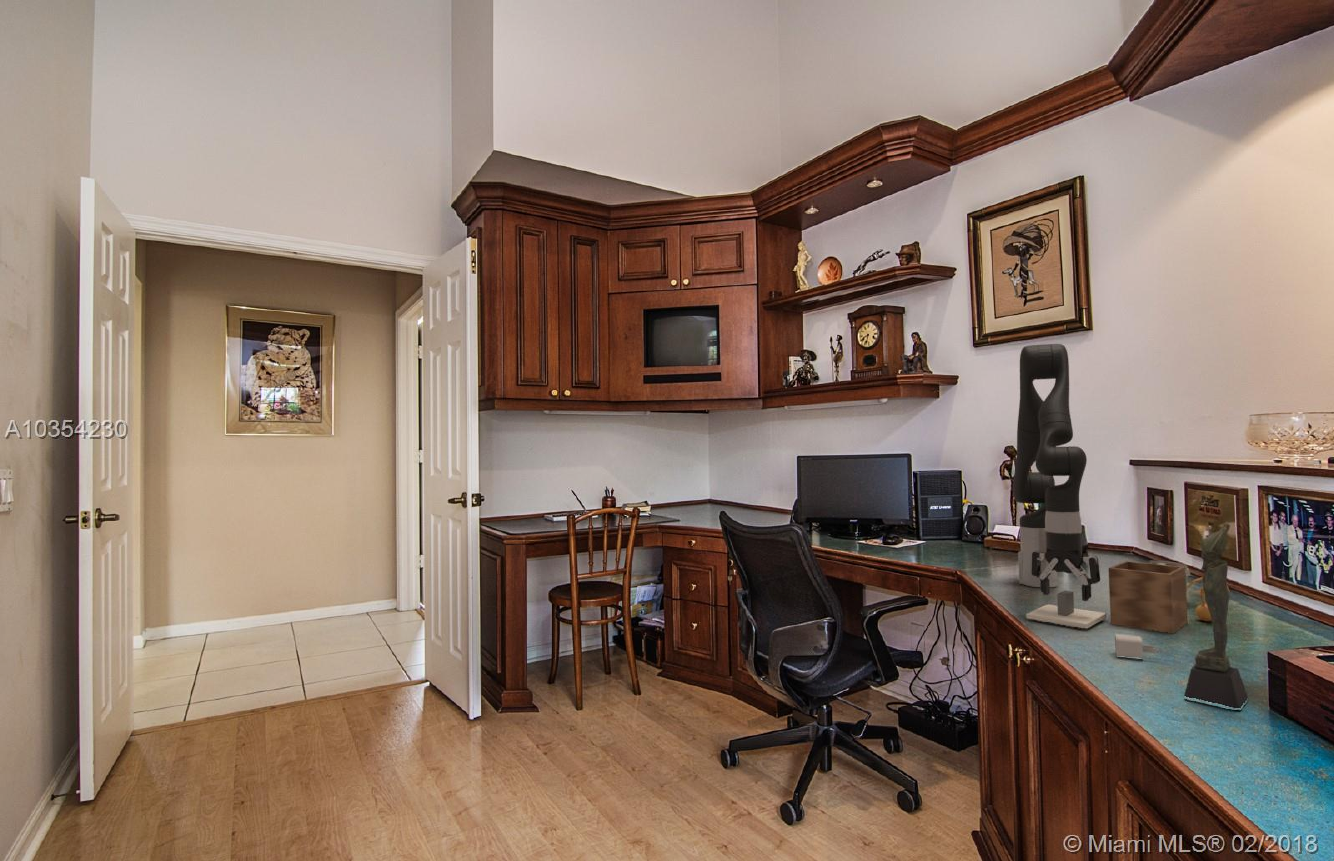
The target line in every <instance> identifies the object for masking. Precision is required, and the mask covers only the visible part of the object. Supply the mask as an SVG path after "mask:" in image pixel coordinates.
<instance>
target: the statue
mask: <svg viewBox="0 0 1334 861" xmlns="http://www.w3.org/2000/svg"><path fill="white" fill-rule="evenodd" d="M1230 527H1231V525H1230V524H1229V523H1228V521H1225V522H1224V523H1223V525H1222V527H1221V528H1220V529H1219V530H1218V531H1215V532H1213V533H1212V534H1209V535H1208V536H1207V537H1205V538H1202V539H1201V540H1200V543H1199V544H1200V548H1201V556H1200V557H1201V559H1202V566H1201V569H1200V570H1202V571H1203V572H1204V573H1203V574H1202V576H1201V577H1202V579H1203V581H1202V584H1203V585H1202V587H1203V589H1204V594H1203V595H1204V597H1205V604H1207V606H1208V609H1209V612H1210V615H1211V619H1212V621H1211V624H1212V632H1213V634H1212V635H1213V642H1214V647H1211V648H1205V649H1201V650H1198V651H1197V654H1196V656H1195V658H1194V660H1195V662H1194V663H1195V664H1194V665H1193V666H1192V667H1191V668H1190V672H1189V675H1188V680H1187V683H1186V688H1185V689H1184V690H1185V691H1184V695H1183V697H1184V696H1186V697H1189V698H1196V699H1199V700H1200V699H1201V700H1204V701H1208V702H1212V703H1218V704H1222V705H1225V706H1229V707H1233V708H1241V706H1242V705H1243V703H1245V701H1246V700H1247V698H1248V699H1249V695H1248V693H1247V690H1246V687H1245V684H1244V682H1243V679H1242V675H1241V674H1240V671H1239V669H1238V667H1237V668H1236V667H1232V666H1231V663H1230V659H1229V657H1228V655H1227V653H1226V649H1227V643H1228V637H1229V636H1228V627H1227V626H1228V625H1227V617H1228V611H1229V602H1230V598H1231V597H1230V593H1229V592H1228V589H1227V586H1228V584H1227V579H1228V568H1229V564H1228V560H1222V556H1223V554H1224V551H1225V549H1226V548H1225V547H1226V544H1227V542H1226V541H1227V539H1226V538H1227V534H1228V532H1229V531H1230V530H1229V529H1230ZM1203 582H1204V583H1203Z"/></svg>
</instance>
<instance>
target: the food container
mask: <svg viewBox="0 0 1334 861" xmlns="http://www.w3.org/2000/svg"><path fill="white" fill-rule="evenodd" d="M1149 563H1150V564H1160V565H1170V566H1180V567H1185V571H1186V588H1187V586H1188V577H1189V576H1191V572H1190V568H1188V565H1186V564H1184V563H1180V562H1173V561H1164V560H1149Z"/></svg>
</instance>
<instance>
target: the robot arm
mask: <svg viewBox="0 0 1334 861" xmlns="http://www.w3.org/2000/svg"><path fill="white" fill-rule="evenodd" d="M1069 363H1070V362H1069V355H1068V350H1067V348H1066V346H1065V345H1063V344H1062V343H1050V344H1049V343H1046V344H1031V345H1026V346H1024V347H1023V348H1022V349H1021V352H1020V355H1019V404H1018V405H1019V406H1018V417H1017V428H1016V429H1017V430H1016V431H1017V432H1016V459H1015V465H1014V473H1013V480H1012V494H1013V495H1012V496H1013V498H1014V500H1015V501H1016V502H1017V503H1019V504H1040V507H1039V508H1037V509H1036V510H1034V511H1032V512H1030V513H1026V514H1024V515H1021V516H1020V517H1019V534H1020V536H1019V537H1020V551H1018V552H1017V558H1018V559H1017V562H1018V563H1017V564H1018V583H1019V584H1020V585H1024V586H1027V587H1032V588H1040V592H1041V593H1043V594H1042V595H1044V596H1049V595H1050V593H1051V589H1050V588H1055V587H1058V573H1066V574H1074V576H1075V577H1076V578H1078V580H1079V581H1080V583H1081V584H1082V585H1081V601H1083V602H1087V601H1089V599H1091V598H1092V585H1095V584H1097V583H1100V582H1101V575H1100V574H1101V573H1100V572H1101V571H1100V564H1099V558H1098V556H1095V555H1094V556H1084V554H1083V537H1082V536H1083V533H1082V530H1083V526H1082V518H1081V512H1080V511H1081V510H1080V489H1081V484H1082V480H1083V476H1084V473H1085V470H1086V466H1087V461H1088V460H1087V454H1086V452H1085V451H1084V450H1083V449H1082V448H1081V447H1080V446H1075V445H1074V446H1073V445H1072V446H1070V445H1069V446H1063V445H1066V444H1068V443H1070V442H1071V441H1072V440H1073V438H1074V431H1073V424H1072V419H1071V412H1070V411H1071V410H1070V365H1069ZM1053 379H1055V380H1054V381H1055V382H1054V385H1053V387H1052V389H1051V390H1050V392H1049V393H1048V395H1047V396H1046V398H1045V399H1044V400H1043V399H1042V398H1041V396H1040V395H1039V393H1038V391H1037V388H1035V385H1034V381H1035V380H1053ZM1034 464H1035V468H1036V469H1037V472H1036V471H1034V472H1031V471H1030V470H1031V468H1032V466H1033V465H1034ZM1067 476H1068V479H1067V480H1066V481H1065V482H1064V483H1061V484H1057V485H1056V482H1055V478H1054V477H1067ZM1084 562H1085V563H1086V566H1087V567H1088V568H1089V575H1090V576H1089V575H1088V574H1087V572H1086V570H1085V569H1084V568H1083V567H1082V565H1083V564H1084Z"/></svg>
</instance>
